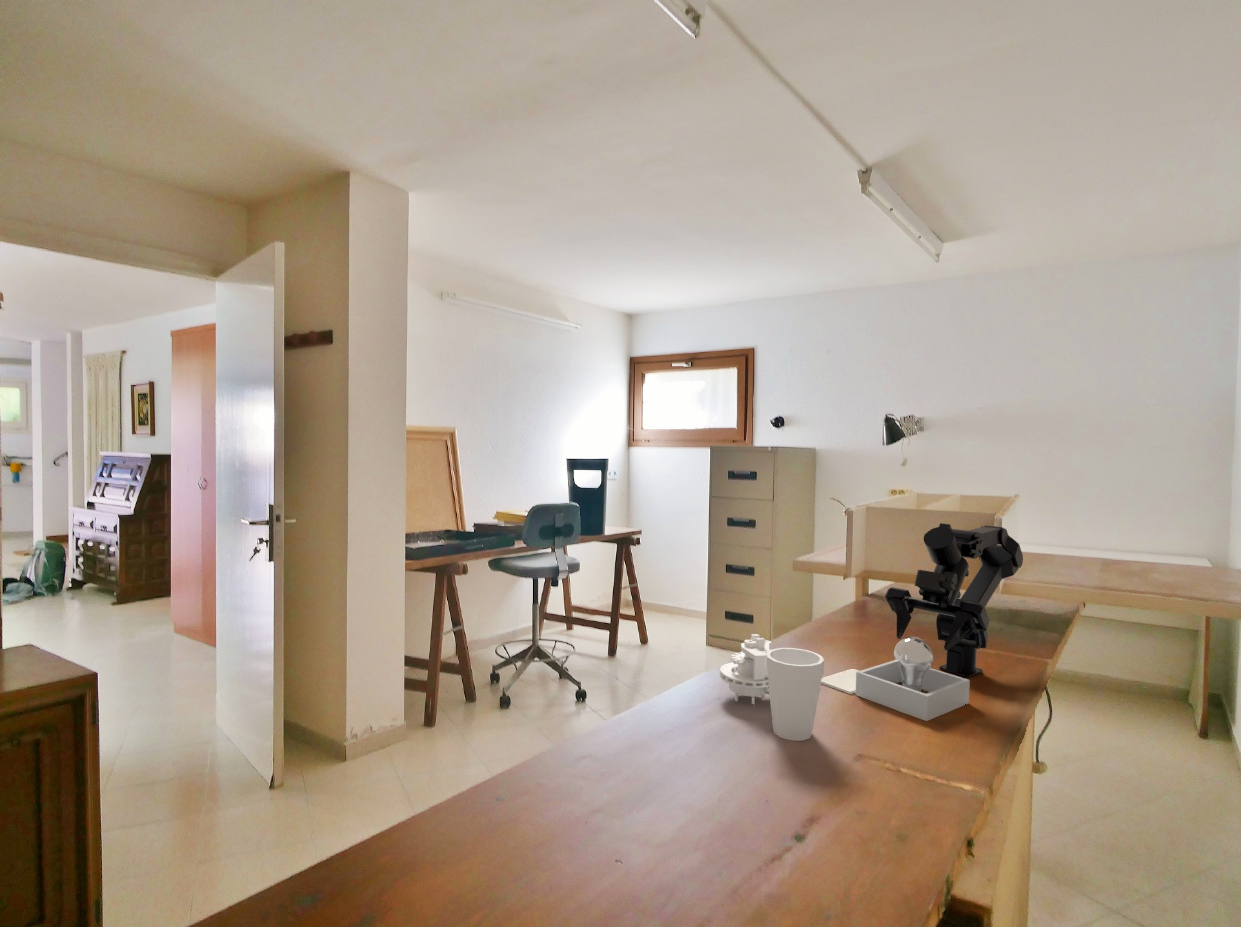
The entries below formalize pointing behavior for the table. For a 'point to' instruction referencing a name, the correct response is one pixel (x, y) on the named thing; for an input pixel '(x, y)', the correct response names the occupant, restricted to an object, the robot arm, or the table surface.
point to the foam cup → (794, 690)
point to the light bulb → (913, 661)
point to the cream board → (842, 681)
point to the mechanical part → (748, 669)
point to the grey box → (913, 691)
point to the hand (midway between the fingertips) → (921, 643)
